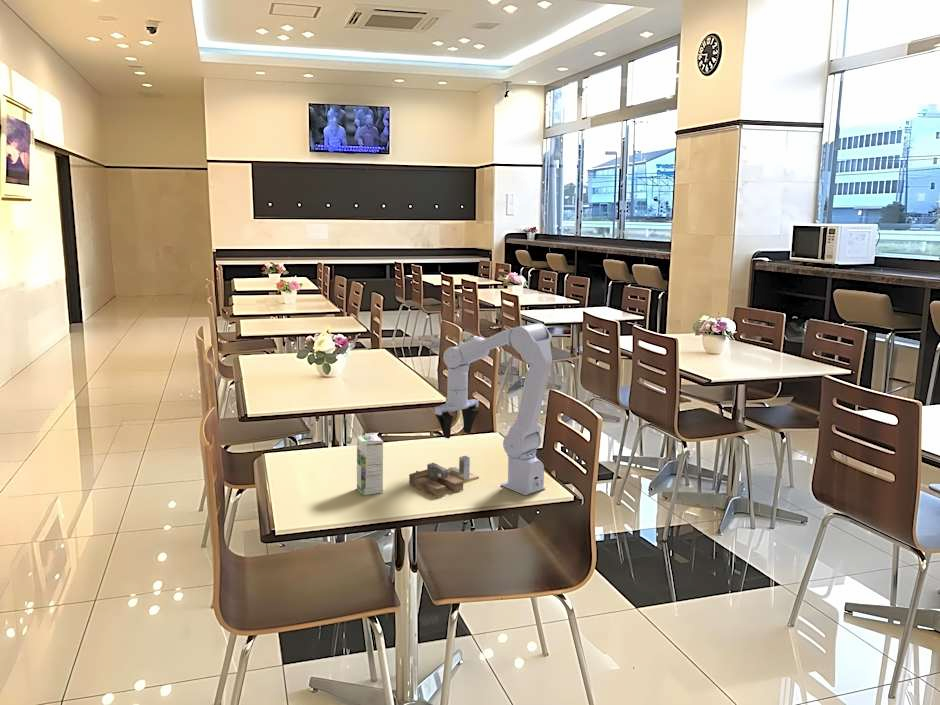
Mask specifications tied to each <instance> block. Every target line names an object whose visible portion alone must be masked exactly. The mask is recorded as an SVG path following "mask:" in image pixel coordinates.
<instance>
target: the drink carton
mask: <svg viewBox="0 0 940 705" xmlns="http://www.w3.org/2000/svg"><path fill="white" fill-rule="evenodd" d="M383 443H384V440H383V439H382V438H381V437H379V436H378V435H377V434H365V435H359V436H357V437H356V490H358V492H359V493H360V494H361V496H370V495H376V494H383V493H384V490H383V489H384V488H383V487H384V472H383V471H384V461H383V460H384V444H383Z"/></svg>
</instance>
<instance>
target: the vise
mask: <svg viewBox="0 0 940 705" xmlns="http://www.w3.org/2000/svg"><path fill="white" fill-rule="evenodd" d="M426 466H427V469H423V470H420V471H418V470H416V471H415V472H412V473H409V474H408V475H409V478H408V479H409V480H408V482H409V484H408V485H409V486H410V487H413V488H414V489H415V488H416V489H418V490H419V491H422V492H423V493H426V494H428V495H430V496H433V497H434V496H435V497H434V498H436V499H437V498H441V496H442V497H445V496H446V495H447V491H446V490H449V491H451V492H454V493H457V492H460V491H463V490H464V483H463V481H461V480H459V479H457V478H454V477H452V476H450V475H448V468H445V467H444V466H441V465H439V464H437V463H435V462H431V463H428V464H427V465H426ZM444 495H445V496H444Z"/></svg>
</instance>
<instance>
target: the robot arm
mask: <svg viewBox="0 0 940 705" xmlns="http://www.w3.org/2000/svg"><path fill="white" fill-rule="evenodd" d="M552 338H553V336H552V334H551V332H550V331H549V330H548V327H546V325H545V324H543V323H542V322H541V323H540V322H535V323H533V324H527V325H522V326H520V325H519V326H516V327H511V328H507V329H504V330H502V331H499V332H497V333H496V334H494V335H490V336H489V337H487V338H484V337H483V336H477V335H475V336H472V337H470V340H468V341H465V342H464V341H461V342H458V346H449V347H448V348H446V349H445V350H444V351H443V356H442V358H443V359H442V360H443V362H444V364H445V366H446V367H447V379H446V380H447V388H446V389H447V399H446V401H445V403H444V404H441V405H439V406H435V407H434V413H435V418H437V420H438V423H439V425H440V427H441V432H442V435H443V438H445V439H450V438H451V431H452V423H453V419H454V416H453V415H451V414H450V413H451V412H457V411H461V414H462V422H463V425H462V426H463V432H464V433H466V434H471V431H472V428H473V426H474V425H473V424H474V421H475V419H476V417H477V416H478V414H479V412H480V411H479V410H480V409H479V407H480V406H479V405H480V403H479V402H480V400H479V399H475V398H471V399H468V396H469V395H468V393H469V391H468V387H469V384H468V383H469V370H470V365H471V363H473V362H476V361H479V360H481V359H483V358H486V357H488V356H489V354H490V350H493V349H496V348H499V347H502V346H505V345H507V346H509V347H512V348H513V349H514V351H516V352H517V353H518V354H519V355H520V356H521V357H522V358H523V359H524V360H525V361H526V362H527V363H528V365H529V367H528V372H527V374H526V380H525V384H524V388H523V391H522V396H521V400H520V404H519V408H518V412H517V415H516V416H517V418H516V419H515V421H514V422H513V423H512V424H511V426H510V427H509V430H508V433H507V434H506V436H504V438H503V441H502V446H503V450H504V451H505V453H506V456H507V457H508V458H507V459H508V460H507V463H508V464H507V481H505V482H502V483H500V486H501V487H504V488H505V489H508V490H512V491H514V492H516V493H519V494H522V495H523V496H527V495H529V494H530V495H531V494H533V493H537V492H538V491H543V490H546V486H545V485H544V483H545V479H544V478H545V465H544V463H543V462H542V461H541V460H540V459H538V457H537V456H536V454H537V450H538V448H539V447H540V446H541V444H542V436H541V430H542V427H541V425H540V424H539V423H538V421H539V417H540V413H541V409H542V406H543V402H544V401H543V400H544V397H545V393H546V388H547V385H548V381H549V377H550V374H551V370H552V365H553V357H552V347H551V340H552Z"/></svg>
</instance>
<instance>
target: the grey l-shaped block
mask: <svg viewBox="0 0 940 705" xmlns="http://www.w3.org/2000/svg"><path fill="white" fill-rule="evenodd" d="M470 461H471V459H470V456H466V455H463V456H460V457H459V460H458V466H459V467H458V468H459V470H458V469H456V468H454V467H453V466H451V467H448V468H447V469H448V473H449V474H452V475H454V476H456V477H459V478H460V479H462V480H466V479H469V473H471V471H470V469H471V468H470V467H471V466H470V465H471V464H470V463H471V462H470Z"/></svg>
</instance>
